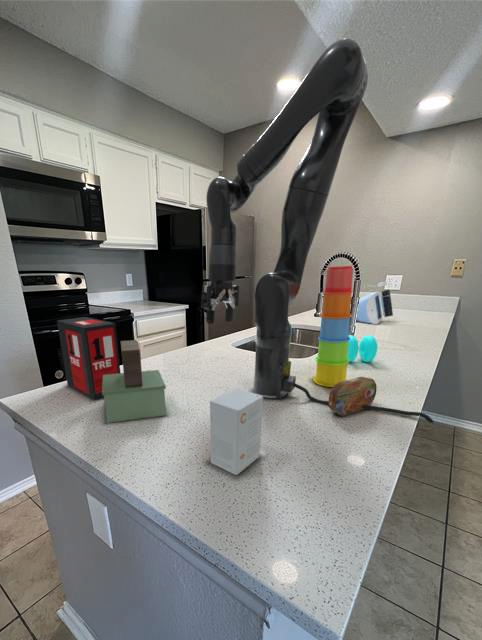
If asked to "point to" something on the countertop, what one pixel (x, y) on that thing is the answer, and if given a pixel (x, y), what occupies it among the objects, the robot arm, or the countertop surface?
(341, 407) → the tin
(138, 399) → the toy box
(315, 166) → the robot arm
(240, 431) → the small box
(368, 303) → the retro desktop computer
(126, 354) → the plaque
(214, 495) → the countertop surface
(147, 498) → the countertop surface
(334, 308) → the stacking cups
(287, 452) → the countertop surface
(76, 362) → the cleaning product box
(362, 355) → the cyan double-lobed piece
